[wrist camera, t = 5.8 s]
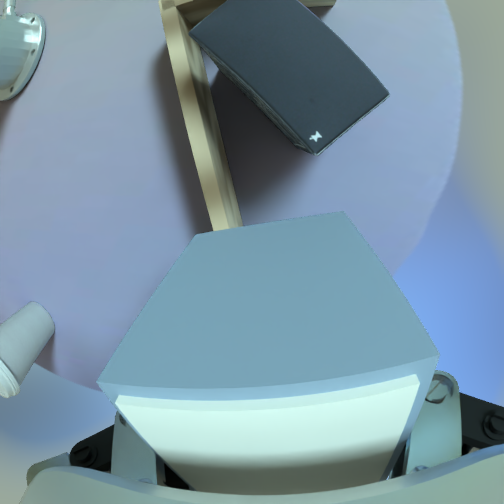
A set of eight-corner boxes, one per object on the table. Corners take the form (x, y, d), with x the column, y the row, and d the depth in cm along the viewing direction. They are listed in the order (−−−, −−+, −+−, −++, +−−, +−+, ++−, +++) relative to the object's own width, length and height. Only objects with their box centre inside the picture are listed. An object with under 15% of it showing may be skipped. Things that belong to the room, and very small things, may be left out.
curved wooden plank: (181, 23, 20) (158, 0, 14) (330, -5, 17) (343, -33, 12) (255, 319, 32) (251, 356, 26) (379, 298, 29) (397, 331, 24)
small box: (351, 107, 22) (398, 95, 12) (298, 151, 24) (314, 164, 15) (270, 25, 19) (266, -30, 10) (217, 69, 22) (181, 35, 12)
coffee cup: (31, 283, 33) (-31, 340, 19) (70, 330, 36) (18, 398, 22) (16, 307, 36) (-35, 358, 22) (50, 348, 39) (7, 405, 25)
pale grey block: (195, 234, 11) (91, 389, 4) (343, 211, 10) (445, 363, 3) (240, 380, 14) (219, 515, 7) (348, 368, 13) (373, 505, 6)
